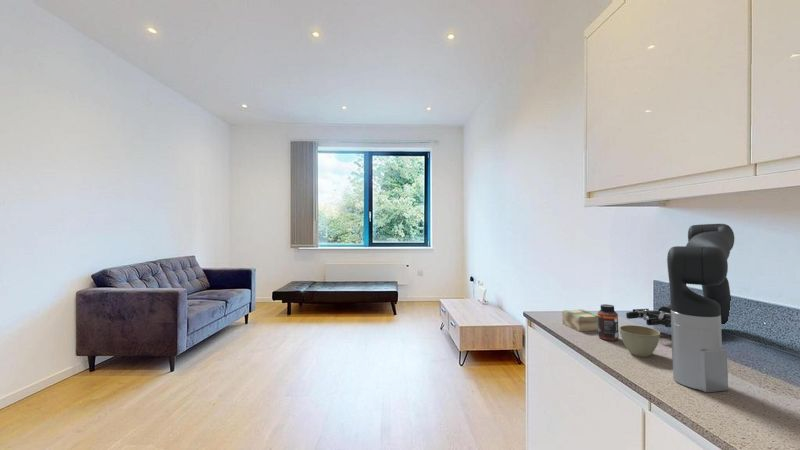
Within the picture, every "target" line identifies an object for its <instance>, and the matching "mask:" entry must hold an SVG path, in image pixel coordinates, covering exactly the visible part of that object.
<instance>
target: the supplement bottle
mask: <svg viewBox="0 0 800 450" xmlns="http://www.w3.org/2000/svg"><path fill="white" fill-rule="evenodd" d="M597 315H598V330H597V331H598V337H599V339H601V340H604V341H609V342H610V341H619V339H620V338H619V337H620V336H619V335H620V334H619V333H620V332H619V314H618V312H616V311H615V306H614V305H613V304H608V303H606V304H604V303H603V304H600V310H597Z"/></svg>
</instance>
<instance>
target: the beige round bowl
mask: <svg viewBox="0 0 800 450" xmlns="http://www.w3.org/2000/svg"><path fill="white" fill-rule="evenodd" d="M618 331H619V333H620V334H619V335H620V337H621V339H622V341H623V344H624V346H625V347H626V349H627V351H628V352H629V353H630V354H631V355H634V356H637V357H641V358H643V357H644V358H645V357H646V358H647V357H650V356H651V355H652V354H653V353H654V352H655V350H656V348H657V346H658V345H659V341H660V338H661V337H660V336H661V332H660V331H659V330H657V329H655V328H653V327H648V326H643V325H635V324H633V325H632V324H626V325H622V326H621V325H620V326H618Z"/></svg>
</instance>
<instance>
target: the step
mask: <svg viewBox="0 0 800 450" xmlns="http://www.w3.org/2000/svg"><path fill="white" fill-rule="evenodd" d="M561 313H562V325H564V324H565V326H566V325H567V326H566V327H568V328H571V329H573V330H575V329H576V330H575V331H577V330H578V331H577V332H588V331H598V313H594V312H590V311H587V310H585V309H574V310H573V309H572V310H567V309H565V310H562V311H561Z"/></svg>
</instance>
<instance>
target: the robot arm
mask: <svg viewBox="0 0 800 450" xmlns="http://www.w3.org/2000/svg"><path fill="white" fill-rule="evenodd" d="M687 241H688V242H687V244H686V245H684V246H682V245H681V246H680V245H678V246H672V247H670V248H669V250H668V252H667V258H666V261H667V262H666V264H667V275H668V284H669V297H670V302H669V303H670V304H666V305H661V306H660V307H659V309H652V310H649V308H636V309H635V308H633V309H632V311H627V312H626V313H625V315H626V316H625V317H626V319H629V320H630V319H642V320H644V321H646V325H647V326H650V327H651V326H661V327H662V326H664V327H665V328H671V329H670V330H671V331H670V332H671V333H670V334H671V355H672V356H671V357H672V360H671V361H672V377H673V378H672V379H673V380H674V381H675V382H677V383H679V384H680V385H682V386H684V387H688V388H690V389H695V390H699V391H702V392H704V393H714V392H724V391H729V370H728V349H726V348H725V347H723V339H722V335H723V334H722V325H721V324H725V323H726V322H727V321H728V316H729V310H730V301H731V297H732V295H731V289H730V283H729V280H728V278H727V276H728V268H729V266H728V265H729V263H728V259H729V257H730V254H731V250H732V249H733V248H734V245H735V233H734V230H733V228H732V227H731V226H730V225H728V224H726V223H706V224H703V223H702V224H693V225H691V226H689V228H688V230H687ZM687 285H695V286H696V285H697V286H701V289H702V295H700V294H699V293H696V292H694V291H693V290H691V289H690V288H689V287H688V286H687Z"/></svg>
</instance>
